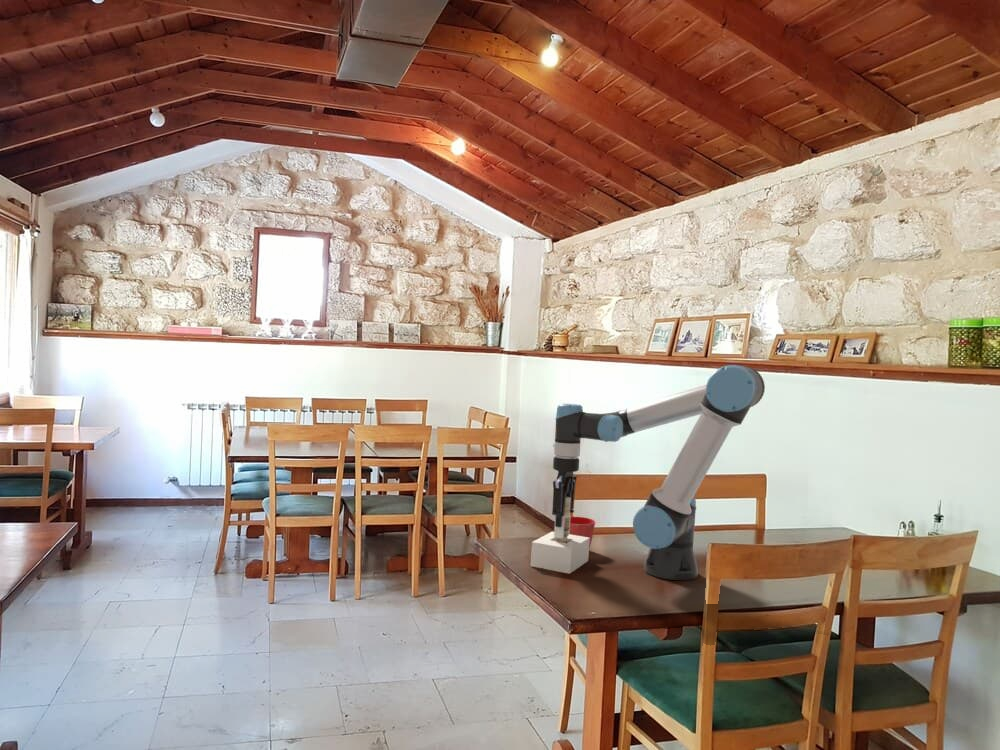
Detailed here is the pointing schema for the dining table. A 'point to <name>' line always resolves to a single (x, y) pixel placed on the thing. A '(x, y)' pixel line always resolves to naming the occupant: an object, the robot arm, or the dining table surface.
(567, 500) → the beech peg
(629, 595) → the dining table surface
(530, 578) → the dining table surface
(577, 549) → the socket block
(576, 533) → the flower pot
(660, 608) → the dining table surface
